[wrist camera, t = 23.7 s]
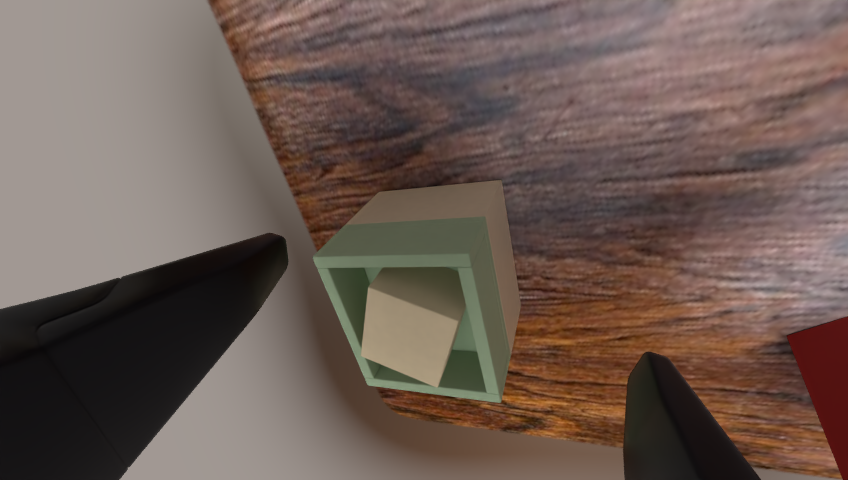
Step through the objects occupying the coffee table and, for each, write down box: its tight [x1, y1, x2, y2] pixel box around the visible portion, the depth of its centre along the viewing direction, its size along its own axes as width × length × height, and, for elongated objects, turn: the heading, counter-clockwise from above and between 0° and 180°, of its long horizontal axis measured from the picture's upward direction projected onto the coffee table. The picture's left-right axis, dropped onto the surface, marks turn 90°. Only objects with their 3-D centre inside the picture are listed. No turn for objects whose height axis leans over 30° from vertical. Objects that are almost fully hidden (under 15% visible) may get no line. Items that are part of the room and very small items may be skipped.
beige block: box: [361, 267, 466, 387], centre depth 18 cm, size 5×4×3 cm
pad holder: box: [312, 180, 521, 403], centre depth 20 cm, size 8×7×7 cm
